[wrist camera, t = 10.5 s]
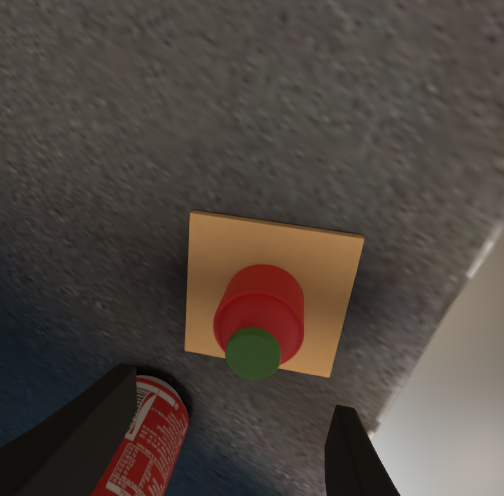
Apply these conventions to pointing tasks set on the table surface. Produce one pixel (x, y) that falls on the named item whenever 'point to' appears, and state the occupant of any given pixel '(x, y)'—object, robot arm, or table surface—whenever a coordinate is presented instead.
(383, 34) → the table surface
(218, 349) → the mat
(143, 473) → the beverage can
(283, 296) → the red cylinder green cap
